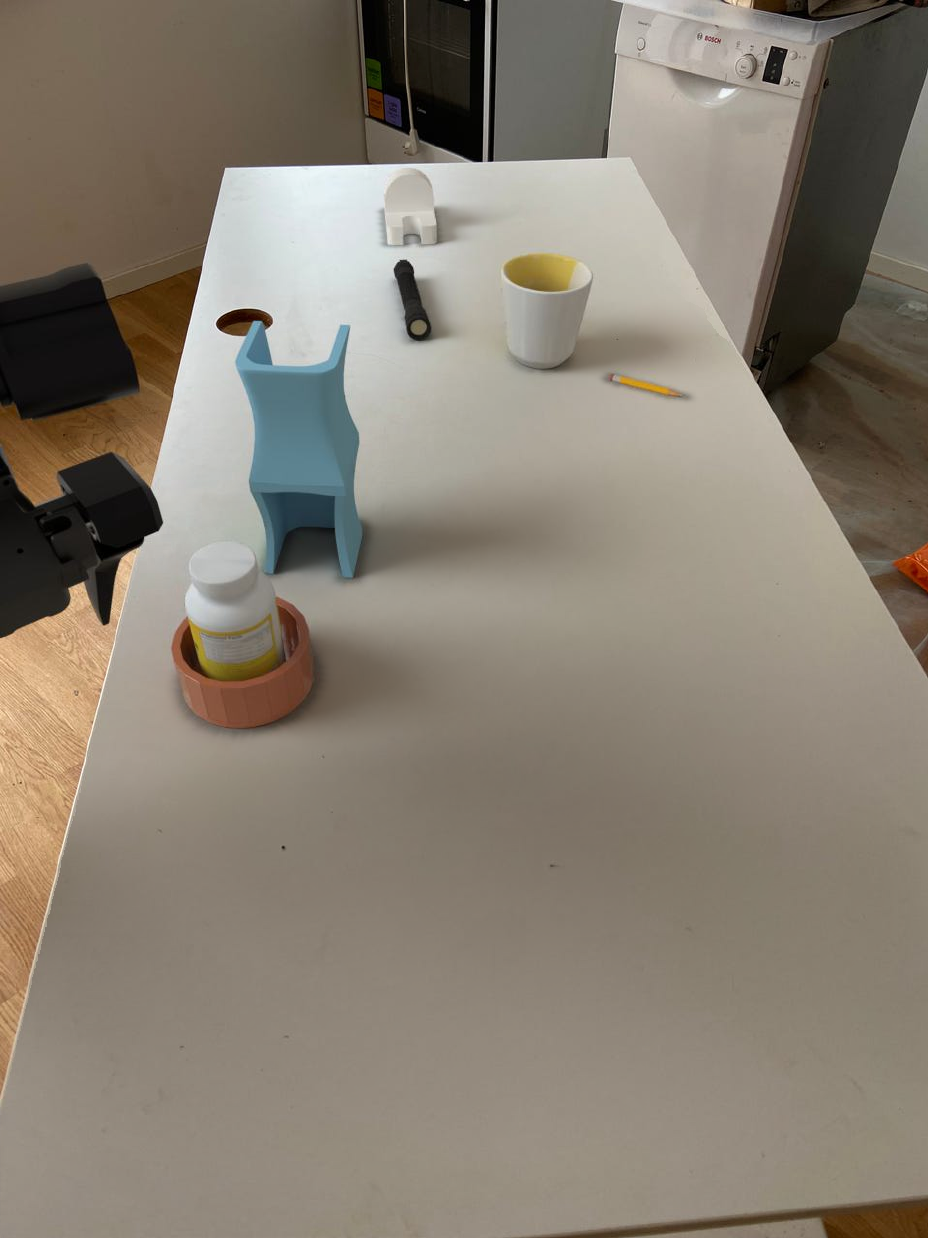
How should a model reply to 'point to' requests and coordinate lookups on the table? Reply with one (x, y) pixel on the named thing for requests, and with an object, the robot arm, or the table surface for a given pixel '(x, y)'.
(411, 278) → the flashlight
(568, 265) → the mug
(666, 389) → the pencil
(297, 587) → the table surface
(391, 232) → the slotted bracket
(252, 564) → the pill bottle
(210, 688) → the bowl
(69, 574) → the robot arm
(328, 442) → the stacked u-channel piece
